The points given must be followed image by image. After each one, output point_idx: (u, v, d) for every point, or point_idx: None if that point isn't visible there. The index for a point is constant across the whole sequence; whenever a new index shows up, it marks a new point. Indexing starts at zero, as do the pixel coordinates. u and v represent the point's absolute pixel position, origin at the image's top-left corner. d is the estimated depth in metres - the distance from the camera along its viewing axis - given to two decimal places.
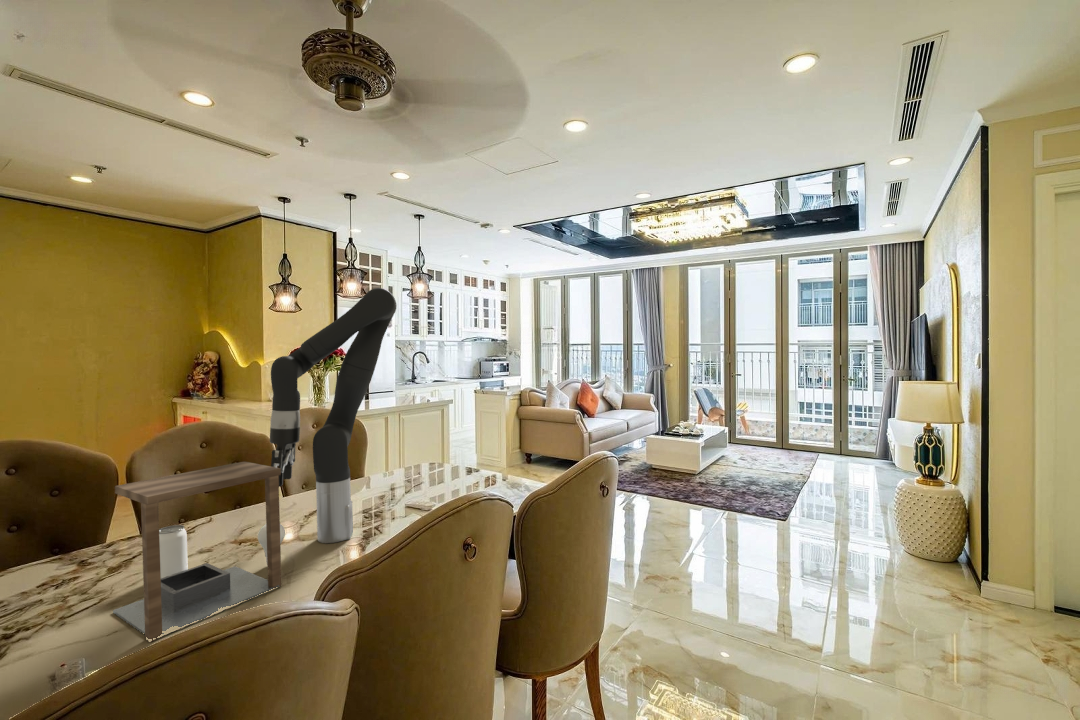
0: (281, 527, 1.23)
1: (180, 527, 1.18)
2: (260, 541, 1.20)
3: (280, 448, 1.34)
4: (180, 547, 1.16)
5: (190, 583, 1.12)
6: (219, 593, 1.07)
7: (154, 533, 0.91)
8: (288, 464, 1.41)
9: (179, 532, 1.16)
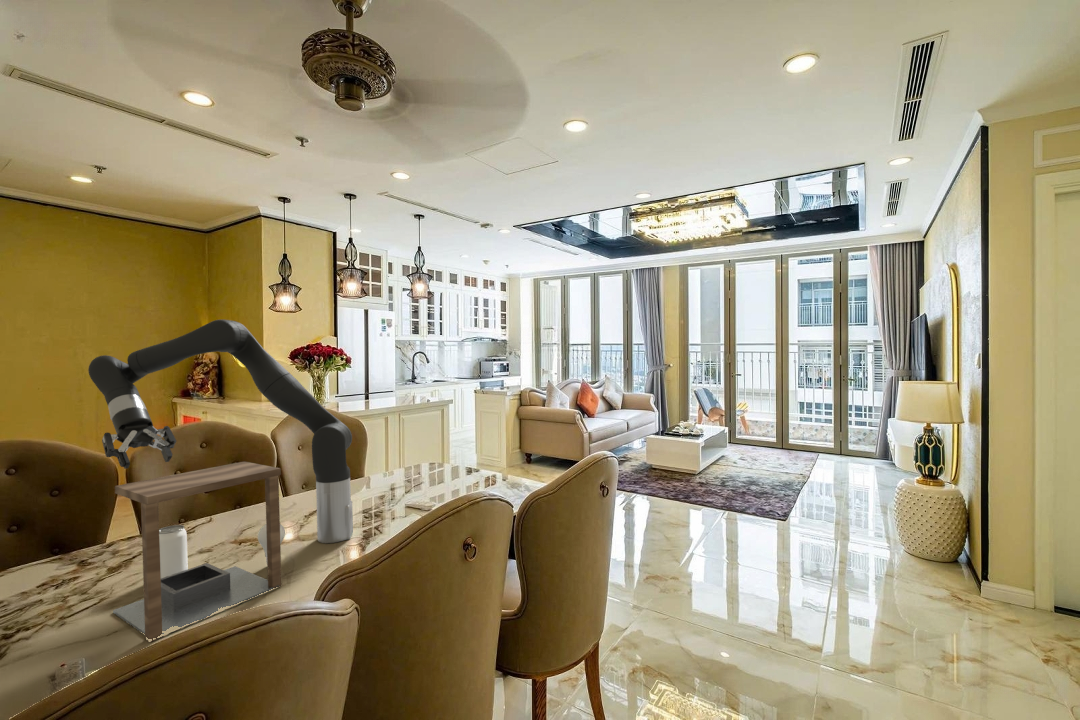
0: (281, 527, 1.23)
1: (180, 527, 1.18)
2: (260, 541, 1.20)
3: None
4: (180, 547, 1.16)
5: (190, 583, 1.12)
6: (219, 593, 1.07)
7: (154, 533, 0.91)
8: (162, 446, 1.27)
9: (179, 532, 1.16)
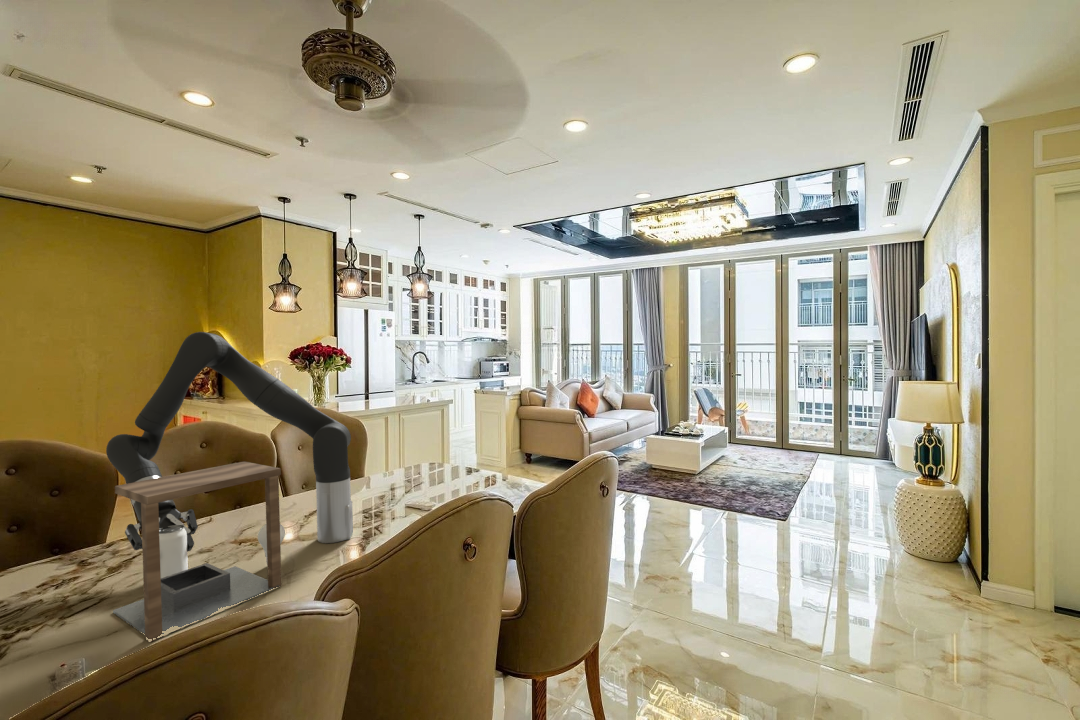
0: (281, 527, 1.23)
1: (180, 527, 1.18)
2: (260, 541, 1.20)
3: (140, 522, 1.16)
4: (180, 547, 1.16)
5: (190, 583, 1.12)
6: (219, 593, 1.07)
7: (154, 533, 0.91)
8: None
9: (179, 532, 1.16)
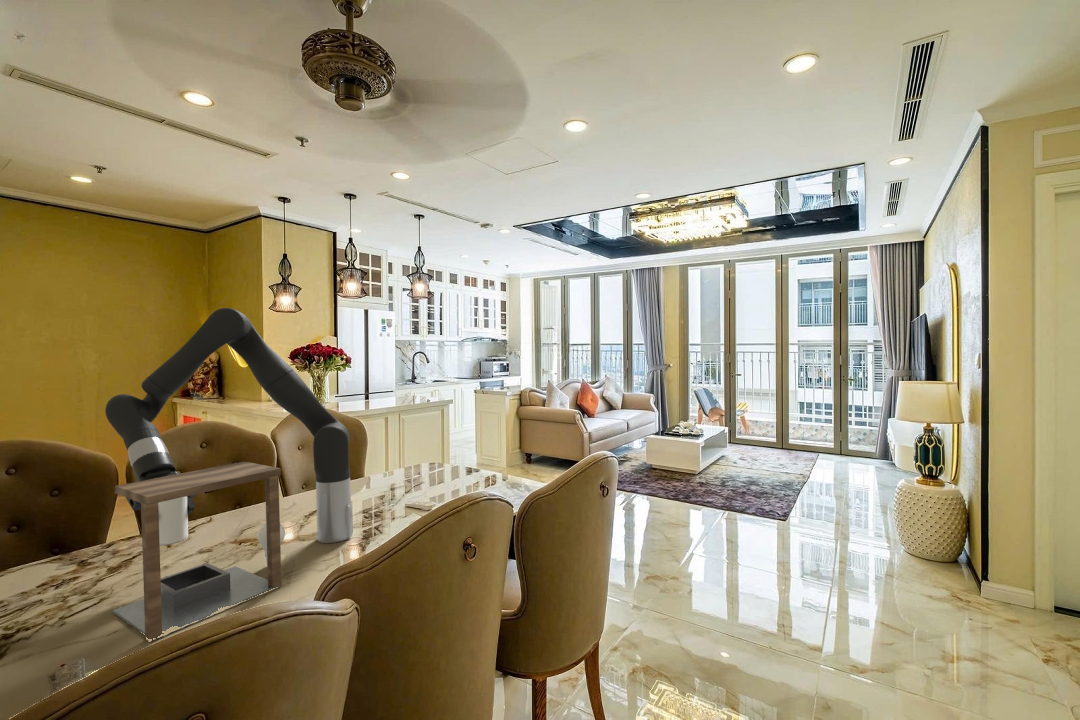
0: (281, 527, 1.23)
1: None
2: (260, 541, 1.20)
3: None
4: (180, 509, 1.12)
5: (190, 583, 1.12)
6: (219, 593, 1.07)
7: (154, 533, 0.91)
8: None
9: None
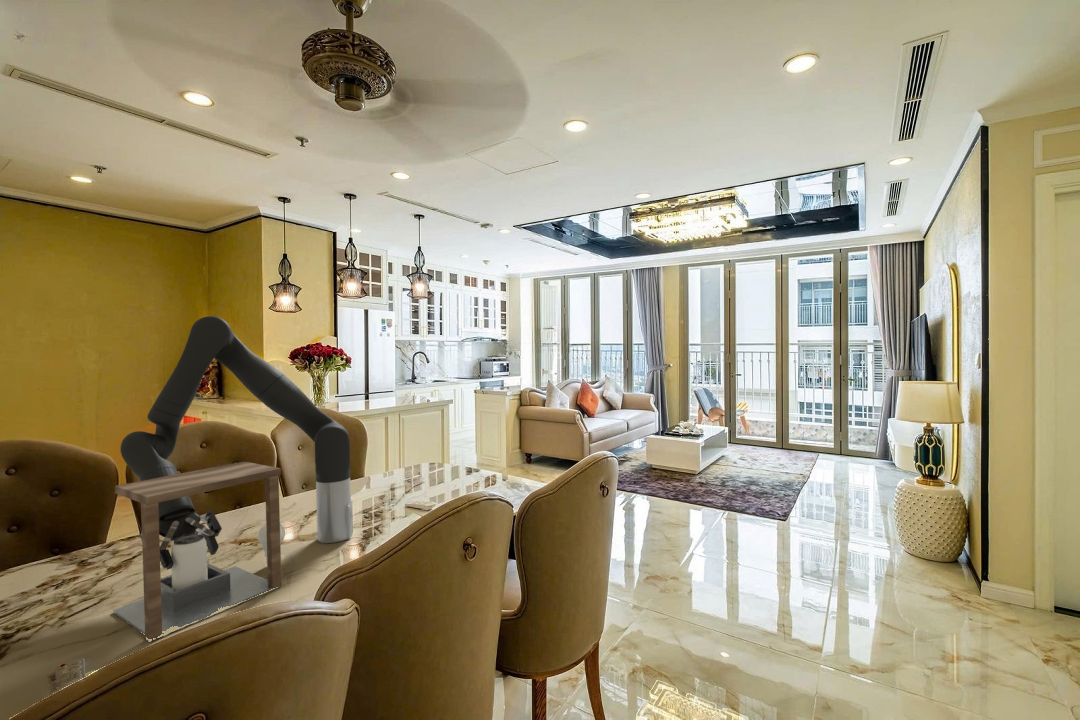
0: (281, 527, 1.23)
1: (200, 537, 1.09)
2: (260, 541, 1.20)
3: None
4: (200, 560, 1.07)
5: None
6: (219, 593, 1.07)
7: (154, 533, 0.91)
8: (207, 537, 1.12)
9: (199, 543, 1.07)
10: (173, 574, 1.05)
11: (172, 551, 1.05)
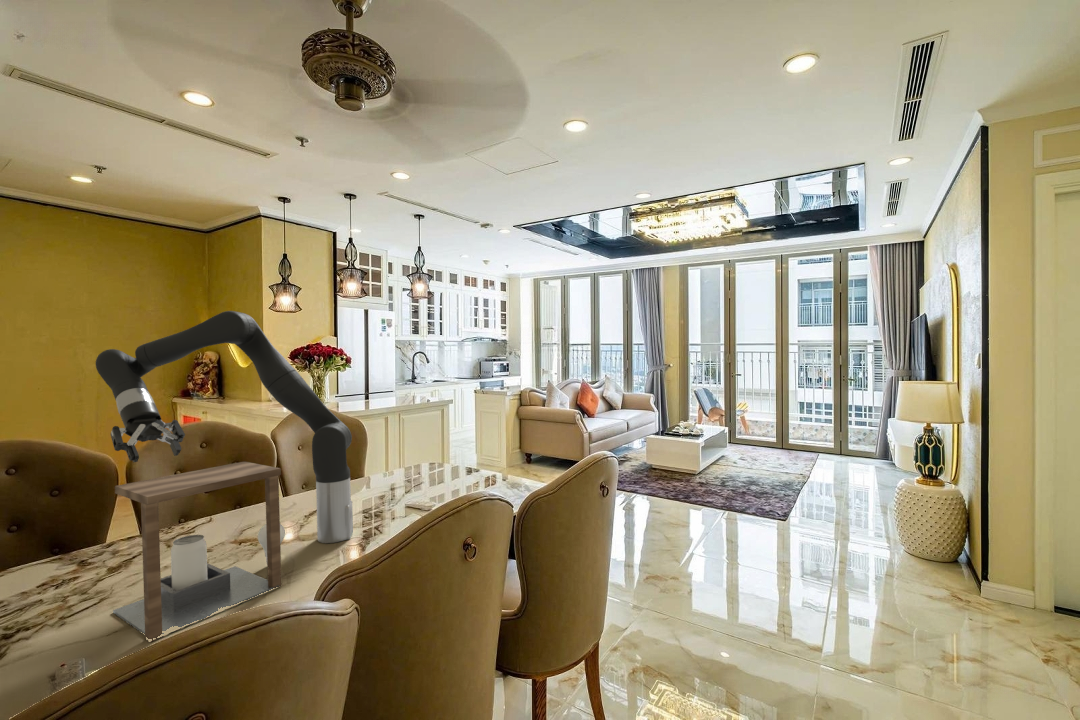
0: (281, 527, 1.23)
1: (199, 537, 1.10)
2: (260, 541, 1.20)
3: None
4: (200, 559, 1.07)
5: None
6: (219, 593, 1.07)
7: (154, 533, 0.91)
8: (171, 440, 1.26)
9: (199, 542, 1.07)
10: (173, 574, 1.05)
11: (171, 551, 1.05)
